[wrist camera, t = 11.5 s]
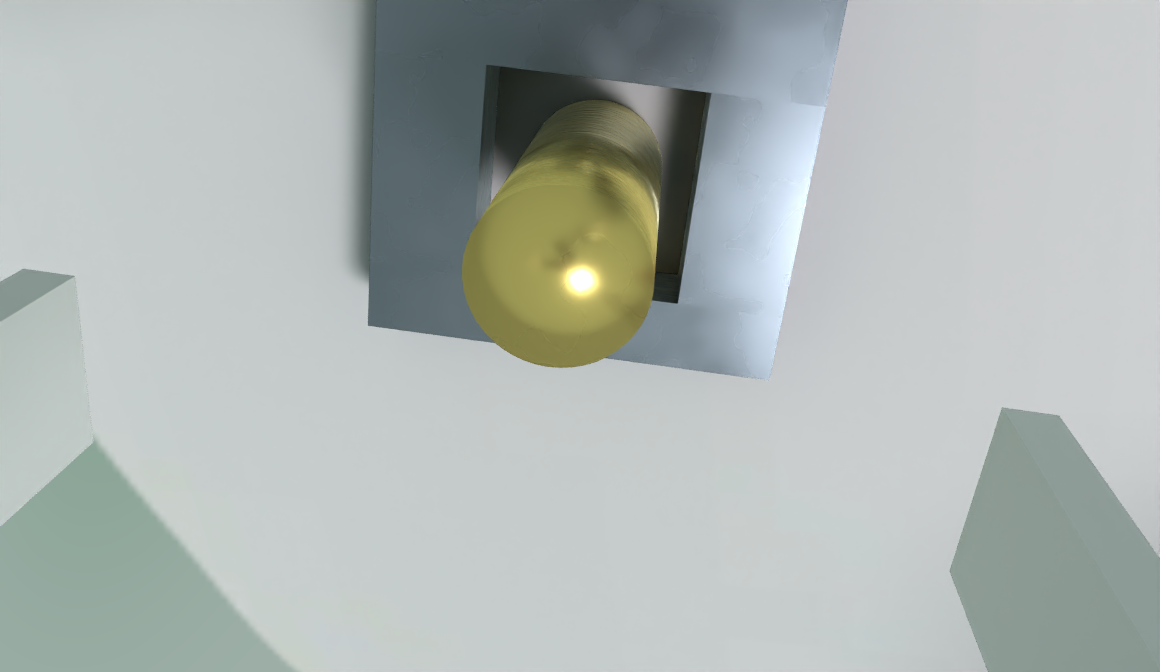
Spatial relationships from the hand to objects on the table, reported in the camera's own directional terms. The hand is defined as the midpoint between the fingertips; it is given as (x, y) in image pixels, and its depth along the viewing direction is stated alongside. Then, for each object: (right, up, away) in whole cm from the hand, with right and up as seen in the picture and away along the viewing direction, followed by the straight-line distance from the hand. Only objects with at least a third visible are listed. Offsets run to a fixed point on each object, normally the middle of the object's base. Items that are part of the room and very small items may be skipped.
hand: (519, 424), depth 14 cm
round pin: (+1, +6, +15) cm, 17 cm away
